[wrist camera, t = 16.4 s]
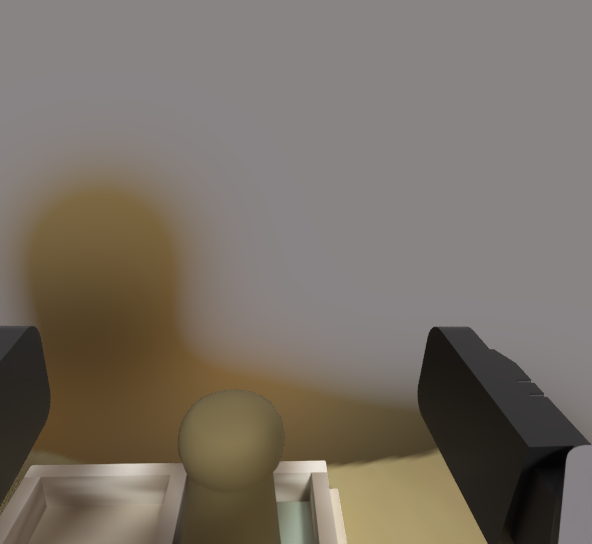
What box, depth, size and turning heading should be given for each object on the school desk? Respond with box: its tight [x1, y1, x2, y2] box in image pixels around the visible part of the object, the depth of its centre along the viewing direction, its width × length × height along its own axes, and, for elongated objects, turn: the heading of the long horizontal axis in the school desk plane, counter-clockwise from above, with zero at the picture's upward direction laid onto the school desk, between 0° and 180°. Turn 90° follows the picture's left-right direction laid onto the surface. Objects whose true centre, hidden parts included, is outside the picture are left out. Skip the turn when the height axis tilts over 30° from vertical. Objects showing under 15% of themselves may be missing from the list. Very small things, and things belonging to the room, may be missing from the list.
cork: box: [178, 390, 285, 544], centre depth 25 cm, size 6×6×11 cm
